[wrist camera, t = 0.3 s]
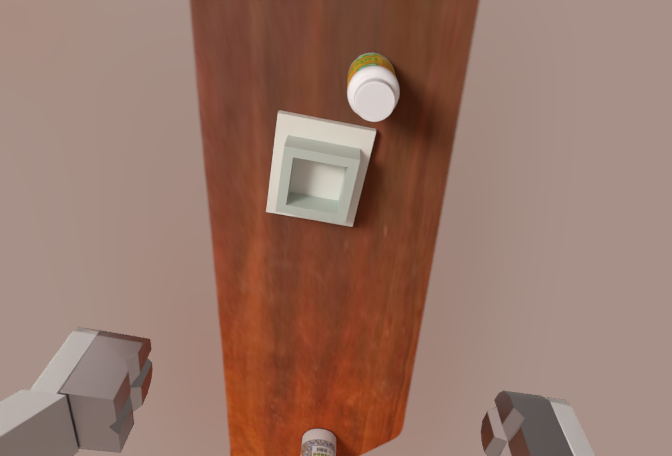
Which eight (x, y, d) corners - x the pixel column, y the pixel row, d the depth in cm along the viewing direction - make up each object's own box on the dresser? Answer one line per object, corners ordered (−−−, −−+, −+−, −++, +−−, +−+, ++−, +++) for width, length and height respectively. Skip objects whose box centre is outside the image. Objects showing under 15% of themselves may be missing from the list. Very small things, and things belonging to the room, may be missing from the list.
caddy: (279, 110, 54) (273, 123, 50) (375, 128, 55) (377, 142, 51) (267, 208, 61) (261, 225, 57) (352, 223, 62) (352, 241, 58)
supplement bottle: (376, 41, 49) (381, 61, 41) (403, 80, 51) (413, 107, 43) (338, 72, 51) (335, 97, 43) (366, 108, 53) (368, 139, 45)
